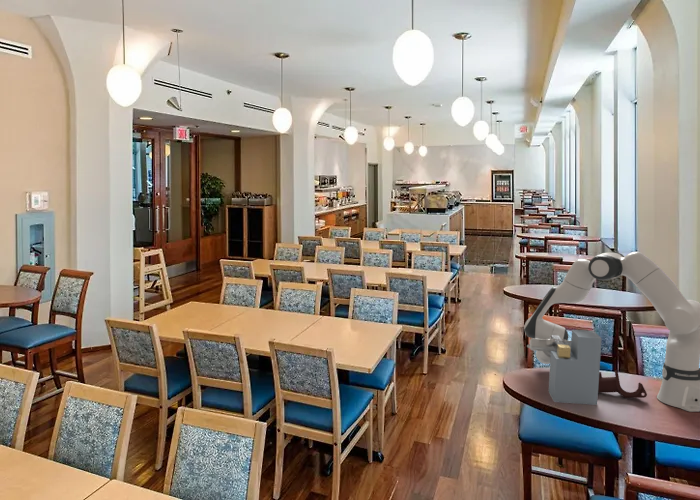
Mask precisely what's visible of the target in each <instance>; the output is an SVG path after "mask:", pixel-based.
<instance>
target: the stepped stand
mask: <svg viewBox="0 0 700 500" xmlns="http://www.w3.org/2000/svg"><path fill="white" fill-rule="evenodd" d="M570 341H571V352H570V358H559V357H558V355H557V352H556V351H551V356H550V364H549V374H548V375H549V377H548V393H549V395H550V398H551V399H552V401H553V402H554V403H563V404H564V403H565V404H578V405H591V406H592V405H593V406H595V405H596V406H597V405H598V398H599V397H598V395H599V393H598V385H599V372H600V369H601V367H600V366H601V354H602V337H601V336H600V335H599V334H598V333H596V331H594V330H587V329H586V330H582V329H581V330H580V329H572V330H571V338H570Z"/></svg>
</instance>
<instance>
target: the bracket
mask: <svg viewBox="0 0 700 500" xmlns="http://www.w3.org/2000/svg"><path fill="white" fill-rule="evenodd" d="M602 376H603V375H602V371H599V385H598V394H602V393H603V394H604V393H617V394H619V395H620V396H621V397H623V398H624V399H644V398H647V396H648V393H647V391H646V389H645V387H644V385H643V383H641V382H638V383H637V385H638V386H637V389H636V390H635V391H632V392H630V391H629V392H628V391H627V390H624V388H622V386H621V382H620V376H619V372H618V370H617V369H616V370H615V371H614V376H607V377H606V376H603V377H602ZM642 394H643V395H642Z"/></svg>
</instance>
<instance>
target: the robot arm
mask: <svg viewBox="0 0 700 500" xmlns="http://www.w3.org/2000/svg"><path fill="white" fill-rule="evenodd" d="M621 276H624V277H626V278H628V280H629V281H630V282H631V283H633V284H634V286H635V287H636V288H637V289H638V290H639V291H640V293H642V294H643V295H644V296H645V298H646V299H648V301H649V302H650V303H651V305H652V306H653V308H654V310H656V312H657V314H658V315H659V316H660V318H661V319H662V320H663V322H664V325H665V327H666V328H667V329H668V330H669V332H668V338H667V340H666V345H665V357H664V358H665V359H664V362H663V364H662V365H663V366H662V374H661V375H662V380H661V385H660V389H659V391H658V393H657V395H656V398H657V399H658V401H660V402H661V403H664V404H665V405H668V406H672V407H675V408H678V409H682V410H683V411H686V412H689V413H692V412H693V413H694V412H700V301H698V300H694V299H686V298H685V296H684V295H683V294H682V292H681V291H680V289H679V288H678V285H677V283H676V282H674V280H672V278H671V277H670V276H669V275H668V274H667V273H666V272H665V271H664V270H663V269H662V268H661V267H660V266H659V265H658V264H657V263H655V261H653V260H652V259H651V258H650V257H648V256H647V255H645V254H644V253H643V252H641V251H632V252H629V253H627V254H626V255H623V254H622V253H620V252H617V251H610V252H603V253H599V254H596V255H595V256H594V257H592V258H591V259H586V258H578V259H576V260H575V261H574V262H573V263H572V265H571V266H570V268H569V269H568V271H567V273H566V275H565V277H564V279H563V281H562V282H561V283H560V284H558V285H557V286H553V287H552V288H550V289H549V291H548V292H547V293H546V294H545V296H544V297H543V298H542V300H541V301H540V302H539V304H538V306H537V308H536V309H535V310H534V312H533V313H532V314H531V316H530V317H529V318H528V319H526V321H525V323H524V326H523V331H524V333H525V335H526V336H527V338H530V339H529V344H527V345H526V347H527V348H529V350H531V351H536V352H535V356H536V358H537V360H538V362H540V363H541V364H544V365H550V356H551V351H556V350H555V348H554V347H553V345H552V344H555V339H551V335H556V336H559V337H560V338H561V340H562V341H563V343H564V344H565V345H569V347H570V348H571V340H569V333H568V330H567V329H566V327H564V326H562V325H561V324H560V325H559V324H557V323H554V322H551V321H549V320H546V319H544V318H543V317H544V316H545V314H546V313H547V312H548V310H549V308H550V307H551V306H553V305H554V304H576V303H581V302H582V301H584V300H585V299H586V298H587V296H588V295H589V293H590V291H591V289H592V286H593V284H594V282H595V281H596V280H598V281H610V280H614V279H616V278H619V277H621ZM570 352H571V351H570Z"/></svg>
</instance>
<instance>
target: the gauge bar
mask: <svg viewBox="0 0 700 500" xmlns="http://www.w3.org/2000/svg"><path fill="white" fill-rule="evenodd" d="M551 339H555V344H552V345H553V347H554V348H555V350H556V352H557V355H558V357H559V358H570V351H571V348H570V347H569V345H565V344H564V343H563V341H562V340H561V338H560V337H559V336H556V335H551Z"/></svg>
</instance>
